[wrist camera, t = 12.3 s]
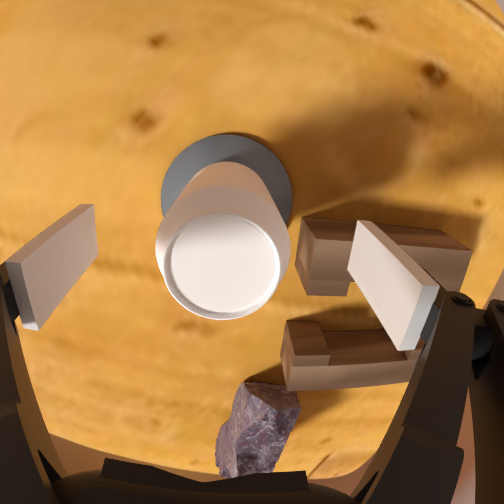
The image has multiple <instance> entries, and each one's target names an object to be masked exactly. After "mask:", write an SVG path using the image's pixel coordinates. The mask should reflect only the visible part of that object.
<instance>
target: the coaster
mask: <svg viewBox="0 0 504 504" xmlns="http://www.w3.org/2000/svg"><path fill="white" fill-rule="evenodd" d="M218 162H235V163H239V164H242V165H245V166H247V167H248V168H250V169H252V170H253V171H254V172H255V173H256V174H257V175H258V176H259V177H260V178H261V179H262V181H263V182H264V184H265V186H266V187H267V189H268V191H269V193H270V195H271V197H272V199H273V201H274V203H275V205H276V207H277V209H278V211H279V213H280V215H281V217H282V219H283V221H284V223H285V225H286V224H287V222H288V219H289V216H290V213H291V207H292V188H291V184H290V180H289V177H288V175H287V172H286V170H285V168H284V166H283V165H282V163H281V162H280V161H279V159H278V158H277V157H276V156H275V155H274V154H273V153H272V152H271V151H270V150H269V149H267V148H266V147H265V146H264V145H262V144H260V143H258V142H257V141H255V140H252V139H250V138H247V137H243V136H239V135H231V134H222V135H215V136H210V137H207V138H204V139H201V140H199V141H197V142H195V143H193V144H192V145H190V146H188V147H187V148H186V149H185V150H183V151H182V152H181V153H180V154H179V155H178V156H177V157H176V158H175V160H174V161H173V162H172V164H171V165H170V167H169V169H168V171H167V173H166V175H165V178H164V181H163V185H162V190H161V207H162V212H163V216H165V215H166V213H167V212H168V210H169V209H170V208H171V206H172V205H173V203H174V202H175V201H176V199H177V198H178V196H179V195H180V194H181V192H182V191H183V190H184V188H185V187H186V186H187V184H188V183H189V182H190V180H191V179H192V178H193V177H194V176H195V175H196V174H197V173H198V172H199V171H200V170H201V169H203V168H205V167H206V166H208V165H211V164H214V163H218Z"/></svg>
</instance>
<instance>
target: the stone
mask: <svg viewBox="0 0 504 504" xmlns="http://www.w3.org/2000/svg"><path fill="white" fill-rule="evenodd" d="M300 410H301V406H300V404H299V400H298V398H297V394H296V391H287V388H286V385H273V384H270V383H264V382H252V383H248V382H242V383H241V385H240V386H239V388H238V390H237V393H236V395H235V399H234V402H233V407H232V414H231V417H230V418H229V420H228V421H227V422H226V423H225V424H223V425H222V427H221V428H220V431H219V434H218V438H217V441H216V448H215V449H216V452H215V457H216V467H219V469H220V471H219V475H220V476H222V477H226V478H230V477H232V478H234V477H239V476H244V475H249V474H253V473H271V472H272V471H273V470H274V468H275V463H276V462H278V459H279V457H280V455H281V453H282V451H283V449H284V446H285V444H286V442H287V440H288V437H289V434H290V432H291V431H292V429H293V427H294V425H295V422H296V420H297V418H298V415H299V413H300Z"/></svg>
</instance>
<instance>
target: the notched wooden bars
mask: <svg viewBox="0 0 504 504" xmlns="http://www.w3.org/2000/svg"><path fill="white" fill-rule="evenodd" d="M356 225H357V222H353V221H342V220H331V219H319V218H307V217H302V218H301V226H300V233H299V240H298V247H297V254H296V261H295V267H296V269H297V272H298V274H299V277H300V279H301V282H302V284H303V287H304V289H305V292H306V294H307V295H316V296H347V292H348V287H349V283H350V282H355V281H354V279H353V277H352V276H351V274H350V273H349V271H348V270H347V268H348V263H349V259H350V254H351V250H352V245H353V240H354V235H355V230H356ZM375 225H376V226H377V227H378V228H379V229H380V230H382V231H383V232H384V233H385V234H386V235H387V236H388V237H389V238H390V239H391V240H393V241H394V242H395V243H396V244H397V245H398V246H399V247H400V248H401V249H402V250H403V251H404V252H406V253H407V254H408V255H409V256H410V257H411V258H412V259H413V260H414V261H415V262H416V263H417V264H418V265H419V266H421V267H423V268H424V269H425V270H427V271H428V272H429V273H430V274H431V276H433V277H434V278H435V279H436V280H435V281H438V282H439V283H440V284H441V285H442V286H443V287H444V288H445V289H446V290H447V291H456V292H459V291H460V289H461V286H462V283H463V280H464V277H465V274H466V271H467V268H468V264H469V261H470V258H471V255H472V251H471V250H470V249H468V248H467V247H465V246H464V245H463V244H461V243H460V242H458V241H457V240H455V239H453V238H452V237H450V236H449V235H447V234H446V233H444V232H443V231H438V230H430V229H421V228H412V227H403V226H394V225H384V224H375ZM424 344H425V342H424V341H423V339H422V338H421V336H420V338H419V340H418V343H417V345H416V347H415V349H414V350H403V351H398V350H397V349H396V347H395V345H394V343H393V342H392V340H391V338H390V337H389V335H388V333H387V332H386V330H368V331H321V329H320V326H319V323H318V321H286V325H285V331H284V337H283V342H282V348H281V354H280V356H281V362H282V367H283V372H284V377H285V383H286V388H287V391H309V390H330V389H345V388H358V387H369V386H379V385H387V384H396V383H403V382H409V381H410V379H411V377H412V374H413V371H414V369H415V366H414V365H415V363H416V361H417V359H418V357H419V354H420V352H421V350H422V348H423V346H424Z"/></svg>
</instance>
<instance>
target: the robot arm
mask: <svg viewBox="0 0 504 504" xmlns="http://www.w3.org/2000/svg"><path fill="white" fill-rule="evenodd" d="M97 256H98V247H97V237H96V227H95V214H94V204H80V205H79V206H77V207H76V208H75V209H73V210H72V211H70V212H69V213H67V214H66V215H64V216H63V217H62V218H60V219H59V220H57V221H56V222H55V223H53V224H52V225H51V226H49V227H48V228H47V229H45V230H44V231H42V232H41V233H40V234H39V235H37V236H36V237H35V238H33V239H32V240H31V241H29V242H28V243H27V244H26V245H24V246H23V247H22V248H20V249H19V250H18V251H17V252H15V253H14V254H13V255H12V256H11V257H9V258H8V259H7V260H6V261H5V262H4V263H2V264H1V265H0V504H450V503H451V500H452V497H453V494H454V491H455V488H456V484H457V481H458V477H459V474H460V470H461V467H462V463H463V458H464V451H463V449H462V448H459V447H457V446H456V444H457V440H458V436H459V432H460V427H461V422H462V418H463V413H464V407H465V402H466V396H467V390H468V387H469V394H470V402H471V410H472V419H473V431H474V443H475V444H474V445H475V470H476V471H475V472H476V491H475V504H504V301H501V300H496V299H493V300H491V301H490V302H489V304H488V307H487V309H486V310H482V309H477V308H475V303H474V301H473V300H472V299H471V298H469V297H468V296H466V295H465V294H463V293H460V292H456V291H447V290H446V289H445V288H444V287H443V286H442V285H441V284H440V283H439V282H438V281H435V280H436V279H435V278H434V277H433V276H431V274H430V273H429V272H428V271H427V270H425V269H424V268H423V267H421V266H419V265H418V264H417V263H416V262H415V261H414V260H413V259H412V258H411V257H410V256H409V255H408V254H407V253H406V252H404V251H403V250H402V249H401V248H400V247H399V246H398V245H397V244H396V243H395V242H394V241H393V240H391V239H390V238H389V237H388V236H387V235H386V234H385V233H384V232H383V231H382V230H380V229H379V228H378V227H377V226H376V225H375V224H374V223H373V222H371V221H364V220H357V225H356V230H355V235H354V240H353V245H352V250H351V254H350V259H349V263H348V268H347V270H348V271H349V273H350V274H351V276H352V277H353V279H354V281H355V282H356V284H357V285H358V287H359V288H360V290H361V291H362V293H363V295H364V296H365V298H366V299H367V301H368V303H369V304H370V306H371V307H372V309H373V311H374V312H375V314H376V315H377V317H378V319H379V320H380V322H381V323H382V325H383V327H384V328H385V330H386V332H387V333H388V335H389V337H390V338H391V340H392V342H393V343H394V345H395V347H396V349H397V350H398V351H403V350H414V349H415V347H416V345H417V343H418V340H419V338H420V336H421V338H422V339H423V341H424V342H425V344H424V346H423V348H422V350H421V352H420V354H419V357H418V359H417V361H416V363H415V365H414V366H415V369H414V371H413V374H412V377H411V379H410V381H409V384H408V386H407V389H406V391H405V394H404V396H403V398H402V400H401V403H400V405H399V407H398V409H397V412H396V414H395V416H394V418H393V420H392V422H391V424H390V426H389V429H388V431H387V433H386V435H385V437H384V439H383V441H382V442H381V444H380V446H379V448H378V450H377V452H376V454H375V456H374V458H373V459H372V461H371V463H370V465H369V467H368V468H367V470H366V472H365V474H364V475H363V477H362V479H361V480H360V482H359V484H358V485H357V487H356V488H355V490H354V491H353V492H352V494H351V495H350V496H348V495H347V494H345V493H342V492H340V491H338V490H335V489H332V488H329V487H326V486H322V485H318V484H314V483H308V482H307V476H306V471H292V472H271V473H253V474H249V475H244V476H239V477H234V478H229V479H223V480H217V481H211V482H199V481H195V480H191V479H188V478H185V477H182V476H178V475H176V474H173V473H170V472H167V471H164V470H161V469H159V468H156V467H153V466H148V465H141V464H136V463H130V462H124V461H119V460H114V459H109V458H105V460H104V464H103V468H102V470H91V471H84V472H80V473H76V474H73V475H70V476H68V474H67V473H66V471H65V469H64V467H63V465H62V463H61V461H60V459H59V457H58V454H57V452H56V450H55V448H54V445H53V443H52V440H51V438H50V435H49V433H48V430H47V428H46V425H45V423H44V420H43V417H42V415H41V412H40V409H39V406H38V403H37V400H36V397H35V394H34V391H33V388H32V385H31V381H30V378H29V374H28V371H27V367H26V364H25V360H24V356H23V352H22V348H21V344H20V339H19V335H18V330H17V327H16V324H15V321H14V320H15V319H16V318H17V317H18V316H19V315H20V318H21V321H22V324H23V327H24V328H27V329H32V330H37V331H39V330H40V329H41V328H42V326H43V325H44V323H45V322H46V321H47V319H48V318H49V317H50V315H51V314H52V313H53V311H54V310H55V309H56V307H57V306H58V305H59V303H60V302H61V301H62V299H63V298H64V297H65V296H66V294H67V293H68V292H69V290H70V289H71V288H72V287H73V285H74V284H75V283H76V282H77V280H78V279H79V278H80V277H81V275H82V274H83V273H84V272H85V271H86V269H87V268H88V267H89V266H90V265H91V263H92V262H93V261H94V260H95V259H96V257H97Z"/></svg>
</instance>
